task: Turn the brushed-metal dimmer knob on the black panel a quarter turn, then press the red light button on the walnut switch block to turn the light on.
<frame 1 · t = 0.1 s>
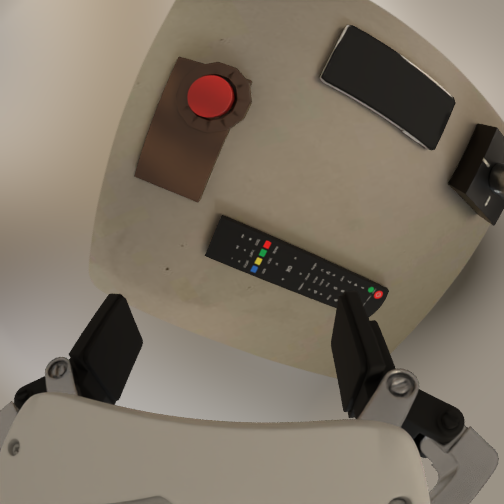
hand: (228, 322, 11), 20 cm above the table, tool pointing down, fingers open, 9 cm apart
dimmer panel: (479, 170, 25), on the table
light button: (211, 96, 22), point 3 cm above the table, slide at 0.1 cm
smartphone: (392, 87, 23), on the table
switch block: (190, 128, 26), on the table
remote control: (305, 269, 34), on the table
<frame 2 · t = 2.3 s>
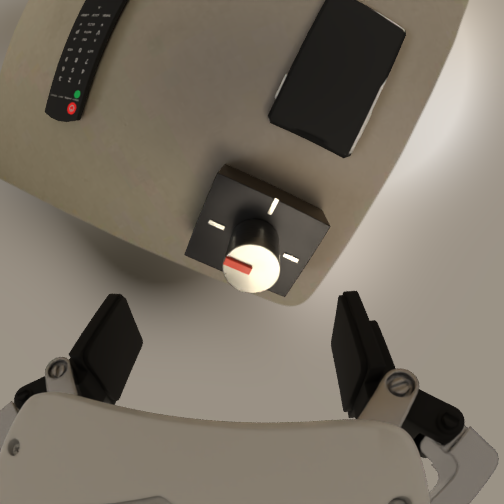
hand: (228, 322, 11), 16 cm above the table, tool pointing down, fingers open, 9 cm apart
dimmer panel: (256, 222, 26), on the table
smartphone: (339, 69, 19), on the table
remote control: (103, 17, 16), on the table
dimmer knob: (253, 255, 21), point 6 cm above the table, hinge at 0.0°
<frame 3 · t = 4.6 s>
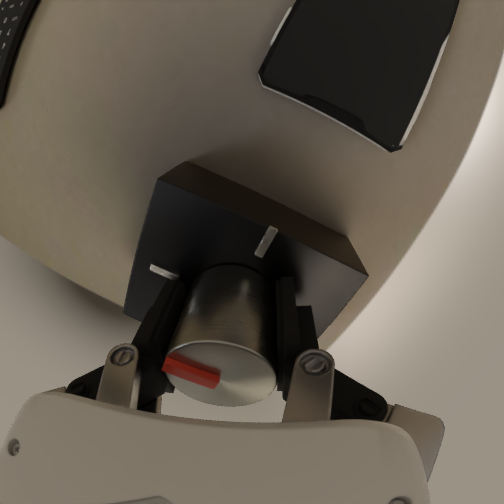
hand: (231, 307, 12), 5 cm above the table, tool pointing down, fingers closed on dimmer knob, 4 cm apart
dimmer panel: (240, 257, 16), on the table
smartphone: (376, 12, 9), on the table
dimmer knob: (226, 337, 11), point 6 cm above the table, hinge at 0.0°, touching gripper
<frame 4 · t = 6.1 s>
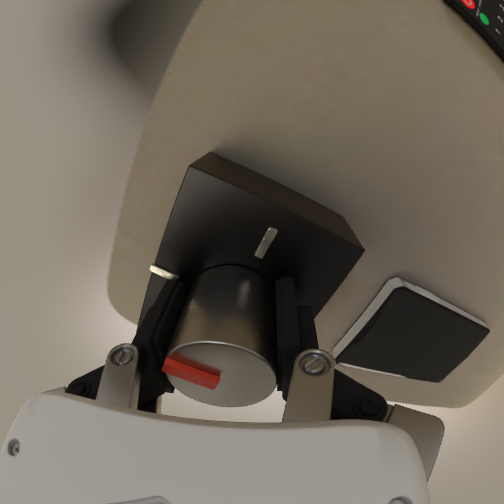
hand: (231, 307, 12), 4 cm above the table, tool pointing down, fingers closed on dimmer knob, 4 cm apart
dimmer panel: (240, 258, 16), on the table
smartphone: (421, 336, 19), on the table
dimmer knob: (226, 338, 11), point 6 cm above the table, hinge at 90.1°, touching gripper
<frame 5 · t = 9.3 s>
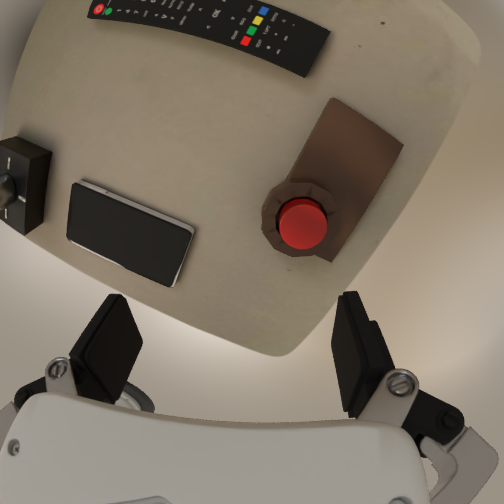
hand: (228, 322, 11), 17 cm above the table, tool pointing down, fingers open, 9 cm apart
dimmer panel: (27, 179, 25), on the table
light button: (302, 223, 23), point 3 cm above the table, slide at 0.1 cm
smartphone: (125, 230, 28), on the table
switch block: (331, 182, 25), on the table
remote control: (195, 12, 17), on the table
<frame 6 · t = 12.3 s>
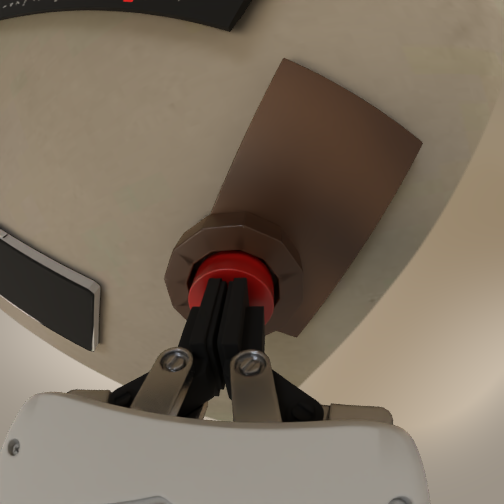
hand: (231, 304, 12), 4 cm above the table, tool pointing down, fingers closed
light button: (232, 294, 13), point 3 cm above the table, slide at -0.1 cm, touching gripper
smartphone: (34, 280, 18), on the table
switch block: (293, 213, 15), on the table
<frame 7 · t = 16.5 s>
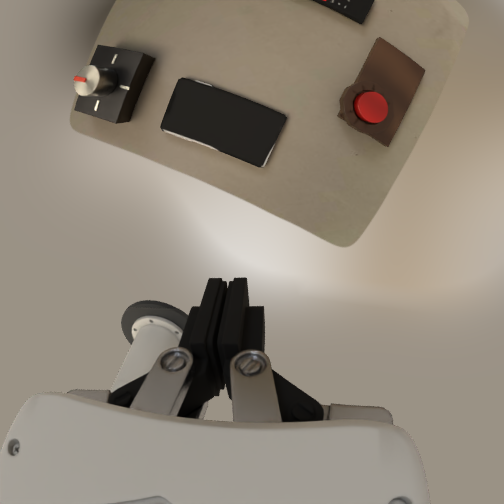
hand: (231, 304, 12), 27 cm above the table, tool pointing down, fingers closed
dimmer panel: (119, 83, 30), on the table
light button: (371, 107, 28), point 3 cm above the table, slide at 0.1 cm
smartphone: (222, 120, 33), on the table
switch block: (382, 90, 29), on the table
dimmer knob: (95, 81, 24), point 6 cm above the table, hinge at 89.6°
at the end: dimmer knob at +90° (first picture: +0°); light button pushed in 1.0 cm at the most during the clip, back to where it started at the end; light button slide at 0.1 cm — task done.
